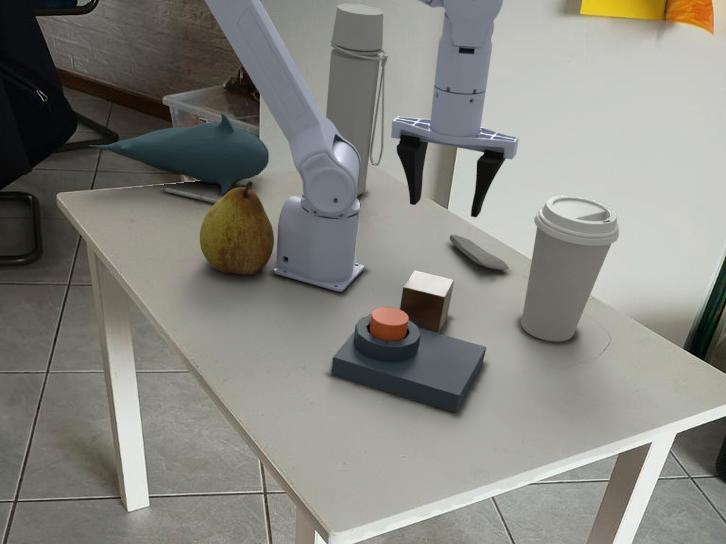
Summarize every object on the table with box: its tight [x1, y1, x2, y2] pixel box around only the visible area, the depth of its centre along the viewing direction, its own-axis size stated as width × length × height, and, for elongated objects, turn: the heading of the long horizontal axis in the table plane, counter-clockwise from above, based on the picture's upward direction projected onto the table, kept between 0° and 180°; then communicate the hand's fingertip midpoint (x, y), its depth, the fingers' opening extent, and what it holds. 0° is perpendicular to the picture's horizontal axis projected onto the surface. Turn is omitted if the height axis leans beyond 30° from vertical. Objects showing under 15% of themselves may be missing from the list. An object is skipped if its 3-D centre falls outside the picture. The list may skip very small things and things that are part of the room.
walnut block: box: [399, 269, 455, 334], centre depth 97 cm, size 5×5×5 cm
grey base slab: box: [330, 313, 487, 414], centre depth 89 cm, size 14×11×4 cm
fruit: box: [199, 180, 275, 276], centre depth 100 cm, size 9×9×12 cm
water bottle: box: [325, 3, 389, 197], centre depth 120 cm, size 9×8×25 cm
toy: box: [87, 113, 270, 195], centre depth 123 cm, size 11×26×15 cm
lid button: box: [369, 306, 409, 341], centre depth 88 cm, size 4×4×2 cm
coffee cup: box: [521, 194, 620, 343], centre depth 96 cm, size 10×10×15 cm
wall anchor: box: [164, 187, 222, 204], centre depth 119 cm, size 1×9×1 cm, turn 71°
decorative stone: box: [449, 234, 510, 271], centre depth 113 cm, size 11×1×5 cm
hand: (445, 208), depth 99 cm, fingers open, 7 cm apart
